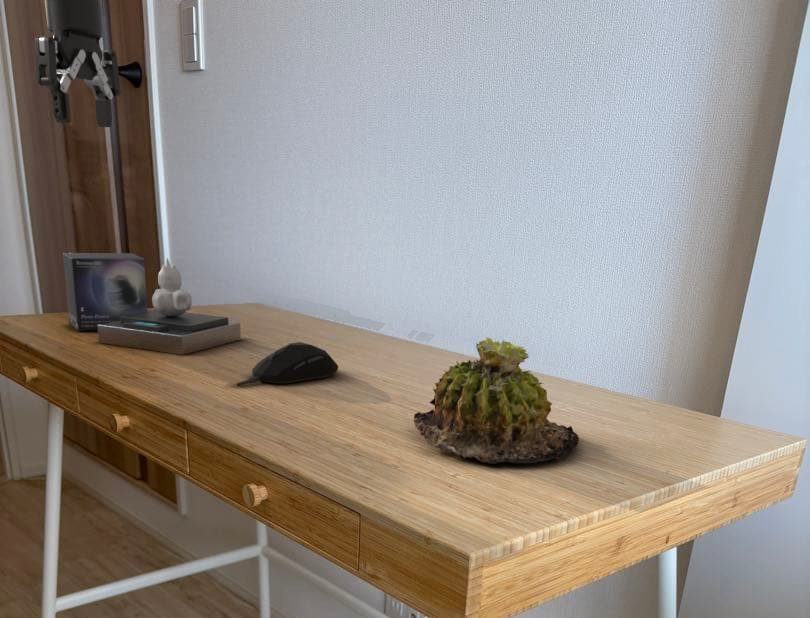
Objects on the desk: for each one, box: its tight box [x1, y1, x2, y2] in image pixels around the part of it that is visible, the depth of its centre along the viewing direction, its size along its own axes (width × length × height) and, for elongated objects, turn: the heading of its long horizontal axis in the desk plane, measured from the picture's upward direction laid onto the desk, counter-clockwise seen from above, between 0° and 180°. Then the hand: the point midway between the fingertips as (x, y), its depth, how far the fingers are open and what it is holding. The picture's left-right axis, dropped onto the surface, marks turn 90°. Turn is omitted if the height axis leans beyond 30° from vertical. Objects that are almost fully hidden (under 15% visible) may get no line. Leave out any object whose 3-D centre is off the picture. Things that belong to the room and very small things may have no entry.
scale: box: [97, 320, 242, 356], centre depth 118 cm, size 14×14×3 cm
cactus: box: [413, 337, 580, 465], centre depth 79 cm, size 17×16×10 cm
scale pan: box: [120, 309, 229, 331], centre depth 118 cm, size 12×9×1 cm
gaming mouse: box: [236, 341, 339, 387], centre depth 100 cm, size 6×15×4 cm, turn 138°
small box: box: [62, 252, 148, 332], centre depth 124 cm, size 11×6×10 cm, turn 122°
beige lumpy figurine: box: [151, 257, 193, 317], centre depth 117 cm, size 5×7×8 cm
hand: (84, 124), depth 123 cm, fingers open, 8 cm apart
